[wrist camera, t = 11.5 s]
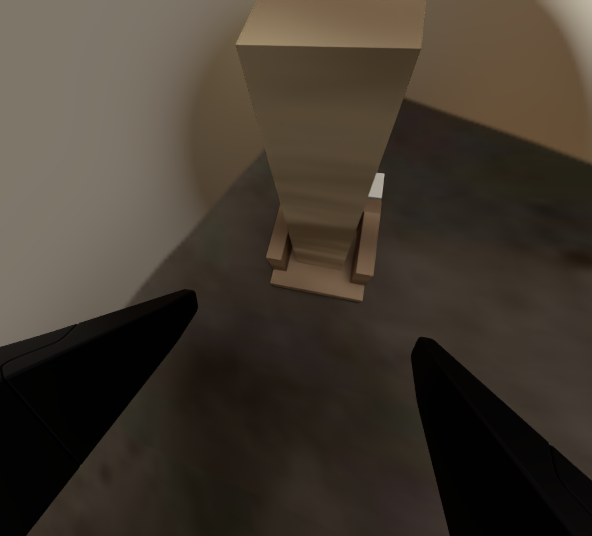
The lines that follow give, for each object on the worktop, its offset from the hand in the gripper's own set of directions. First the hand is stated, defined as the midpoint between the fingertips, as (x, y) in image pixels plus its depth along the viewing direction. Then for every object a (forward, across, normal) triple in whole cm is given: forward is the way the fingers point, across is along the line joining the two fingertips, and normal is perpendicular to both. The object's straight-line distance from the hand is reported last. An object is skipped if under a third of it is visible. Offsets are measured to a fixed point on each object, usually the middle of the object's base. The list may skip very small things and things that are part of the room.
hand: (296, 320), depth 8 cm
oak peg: (+12, 0, +1) cm, 12 cm away
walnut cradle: (+12, 0, +2) cm, 13 cm away
